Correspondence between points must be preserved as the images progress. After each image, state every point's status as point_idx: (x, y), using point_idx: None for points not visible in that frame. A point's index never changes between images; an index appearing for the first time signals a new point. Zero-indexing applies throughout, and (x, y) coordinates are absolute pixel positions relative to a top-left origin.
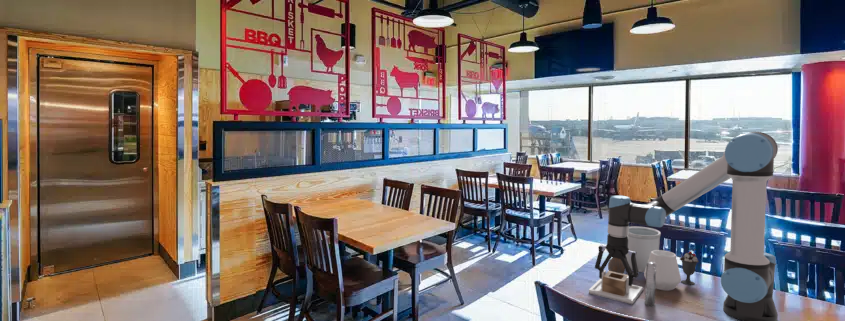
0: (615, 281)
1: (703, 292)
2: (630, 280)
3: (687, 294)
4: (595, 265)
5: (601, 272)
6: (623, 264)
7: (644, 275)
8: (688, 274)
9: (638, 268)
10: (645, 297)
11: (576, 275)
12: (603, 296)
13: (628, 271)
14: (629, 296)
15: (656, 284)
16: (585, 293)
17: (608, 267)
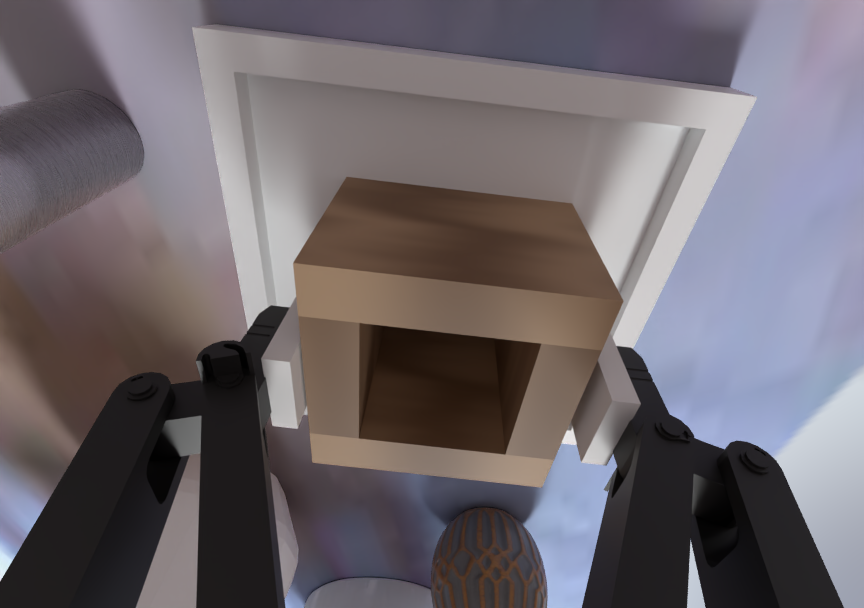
0: (428, 260)
1: (14, 487)
2: (256, 350)
3: (46, 439)
4: (787, 492)
5: (639, 407)
6: (271, 582)
7: (282, 533)
8: None
9: (376, 599)
10: (71, 139)
11: (778, 436)
12: (553, 66)
13: (223, 450)
14: (299, 204)
15: (191, 465)
16: (776, 59)
17: (541, 566)
